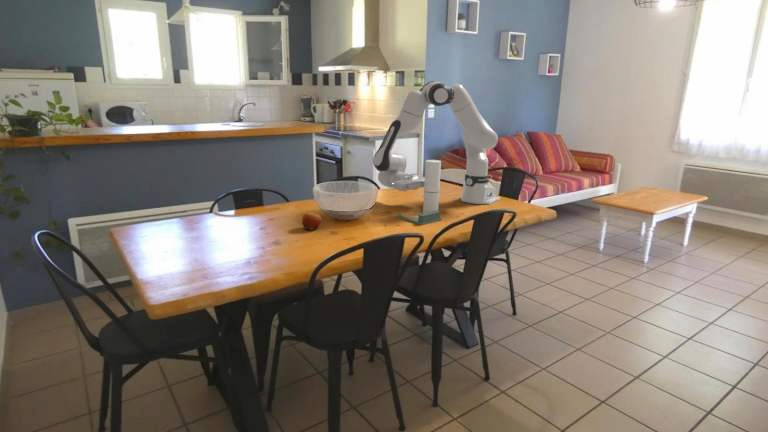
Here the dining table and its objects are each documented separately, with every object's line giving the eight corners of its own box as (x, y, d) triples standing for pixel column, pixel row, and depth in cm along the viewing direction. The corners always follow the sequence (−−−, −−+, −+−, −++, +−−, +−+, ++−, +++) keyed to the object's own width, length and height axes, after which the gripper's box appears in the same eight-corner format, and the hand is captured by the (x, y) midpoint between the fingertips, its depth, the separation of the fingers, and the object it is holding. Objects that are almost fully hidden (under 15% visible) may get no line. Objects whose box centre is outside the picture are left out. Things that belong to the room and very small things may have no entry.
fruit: (296, 228, 187) (300, 209, 189) (304, 232, 194) (309, 214, 196) (313, 230, 184) (318, 211, 186) (321, 235, 192) (325, 217, 194)
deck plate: (415, 212, 220) (415, 204, 219) (441, 220, 208) (441, 211, 207) (395, 216, 212) (395, 208, 210) (421, 225, 200) (421, 216, 199)
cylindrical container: (437, 211, 222) (440, 160, 216) (438, 215, 216) (441, 162, 209) (423, 210, 223) (425, 159, 216) (422, 214, 216) (425, 161, 209)
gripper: (388, 178, 222) (408, 182, 212) (417, 173, 235) (437, 177, 226) (387, 191, 224) (408, 196, 214) (417, 185, 237) (437, 190, 227)
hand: (423, 186), depth 220 cm, fingers open, 8 cm apart
